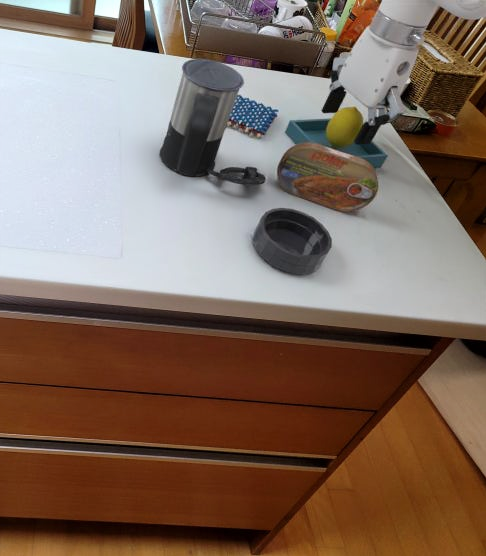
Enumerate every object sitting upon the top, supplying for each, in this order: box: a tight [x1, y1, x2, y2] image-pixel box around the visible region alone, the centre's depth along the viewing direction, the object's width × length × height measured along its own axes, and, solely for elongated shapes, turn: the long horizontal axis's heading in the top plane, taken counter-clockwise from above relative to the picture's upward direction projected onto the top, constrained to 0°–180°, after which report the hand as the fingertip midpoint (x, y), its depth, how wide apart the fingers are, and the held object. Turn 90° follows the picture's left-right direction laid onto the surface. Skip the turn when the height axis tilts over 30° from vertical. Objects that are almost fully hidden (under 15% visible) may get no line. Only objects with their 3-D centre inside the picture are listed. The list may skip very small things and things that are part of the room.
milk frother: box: [159, 58, 267, 186], centre depth 82 cm, size 14×16×15 cm
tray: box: [284, 117, 389, 169], centre depth 98 cm, size 13×12×2 cm
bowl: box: [252, 207, 333, 275], centre depth 76 cm, size 10×10×4 cm
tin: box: [276, 142, 379, 213], centre depth 84 cm, size 15×3×8 cm, turn 68°
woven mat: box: [227, 94, 279, 139], centre depth 100 cm, size 10×11×2 cm
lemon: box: [326, 106, 364, 148], centre depth 96 cm, size 6×6×8 cm
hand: (344, 127), depth 95 cm, fingers open, 9 cm apart
